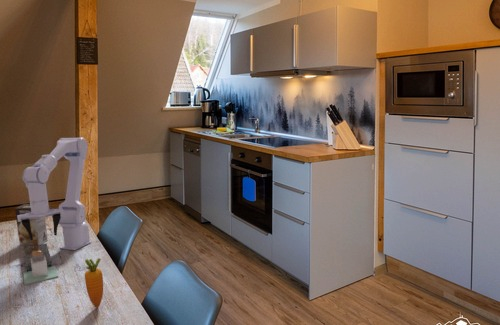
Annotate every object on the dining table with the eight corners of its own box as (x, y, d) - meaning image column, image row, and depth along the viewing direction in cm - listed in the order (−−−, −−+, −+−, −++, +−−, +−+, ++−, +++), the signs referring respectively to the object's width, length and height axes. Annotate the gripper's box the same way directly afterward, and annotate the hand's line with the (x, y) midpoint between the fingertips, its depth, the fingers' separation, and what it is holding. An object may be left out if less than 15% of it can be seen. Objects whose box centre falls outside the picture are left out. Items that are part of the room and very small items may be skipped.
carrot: (108, 302, 120) (103, 254, 117) (103, 311, 115) (97, 261, 113) (91, 303, 120) (85, 255, 117) (85, 312, 115) (79, 262, 112)
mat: (23, 273, 142) (23, 272, 142) (55, 266, 147) (55, 265, 147) (24, 285, 134) (24, 283, 134) (58, 277, 139) (58, 276, 139)
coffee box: (18, 245, 170) (13, 208, 167) (28, 240, 176) (23, 203, 173) (39, 245, 169) (34, 208, 166) (48, 240, 175) (44, 203, 172)
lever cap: (32, 272, 142) (30, 256, 141) (46, 269, 144) (44, 253, 143) (33, 278, 137) (31, 262, 136) (48, 275, 139) (46, 259, 138)
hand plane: (24, 253, 161) (22, 237, 160) (47, 249, 165) (45, 233, 164) (26, 272, 144) (24, 254, 143) (52, 266, 148) (49, 249, 146)
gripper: (15, 206, 139) (21, 244, 141) (62, 199, 146) (67, 235, 148) (15, 201, 145) (20, 238, 147) (60, 195, 152) (64, 230, 154)
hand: (43, 236), depth 148 cm, fingers open, 7 cm apart
